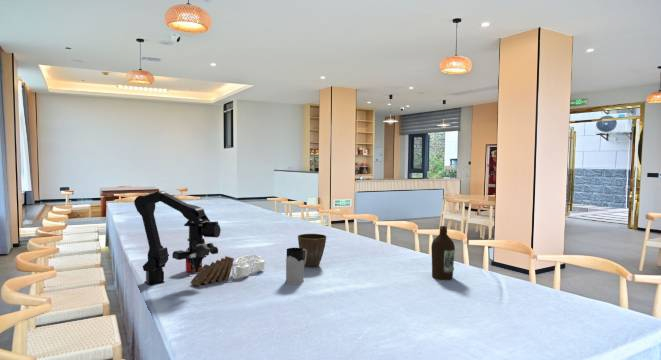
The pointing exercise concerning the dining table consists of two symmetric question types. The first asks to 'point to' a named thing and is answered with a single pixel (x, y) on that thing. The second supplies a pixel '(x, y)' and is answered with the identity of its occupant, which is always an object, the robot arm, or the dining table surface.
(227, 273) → the tile
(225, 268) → the tile
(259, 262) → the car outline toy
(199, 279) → the tile
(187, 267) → the canned food
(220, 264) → the tile
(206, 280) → the tile
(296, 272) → the tall mug
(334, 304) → the dining table surface
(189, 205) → the robot arm
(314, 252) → the plant pot
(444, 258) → the olive oil
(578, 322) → the dining table surface
